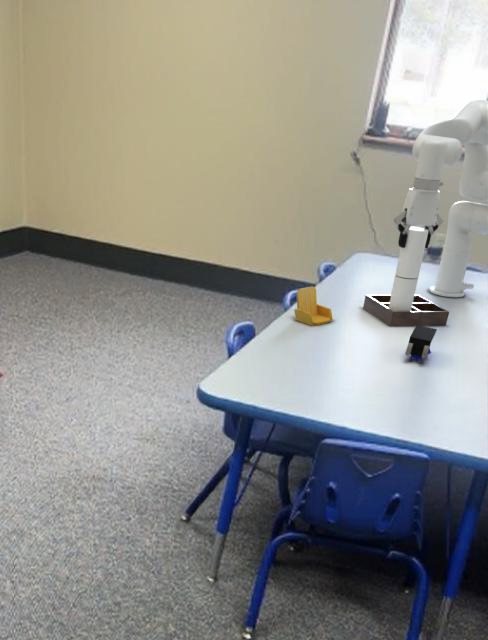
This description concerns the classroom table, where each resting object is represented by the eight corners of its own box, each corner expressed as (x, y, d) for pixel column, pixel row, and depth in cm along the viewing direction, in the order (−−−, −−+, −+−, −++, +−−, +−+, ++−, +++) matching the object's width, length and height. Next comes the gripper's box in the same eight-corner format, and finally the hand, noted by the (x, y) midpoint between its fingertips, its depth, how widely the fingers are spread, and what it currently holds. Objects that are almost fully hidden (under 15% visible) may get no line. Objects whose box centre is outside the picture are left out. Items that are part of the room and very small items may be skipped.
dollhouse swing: (312, 326, 250) (317, 296, 245) (290, 318, 256) (294, 289, 251) (334, 321, 257) (339, 292, 252) (311, 313, 262) (315, 285, 257)
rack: (415, 308, 277) (418, 294, 275) (445, 325, 261) (449, 311, 259) (362, 308, 273) (365, 294, 270) (390, 326, 256) (393, 311, 254)
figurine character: (425, 371, 225) (432, 350, 236) (431, 345, 221) (438, 326, 232) (401, 367, 227) (409, 346, 238) (406, 341, 223) (415, 322, 234)
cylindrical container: (409, 308, 263) (426, 227, 249) (412, 314, 257) (430, 232, 243) (387, 306, 263) (403, 225, 250) (389, 312, 257) (406, 229, 244)
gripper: (445, 184, 245) (431, 244, 255) (394, 182, 241) (382, 243, 250) (458, 188, 239) (444, 250, 248) (405, 186, 235) (393, 249, 244)
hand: (413, 246), depth 249 cm, fingers closed on cylindrical container, 7 cm apart
